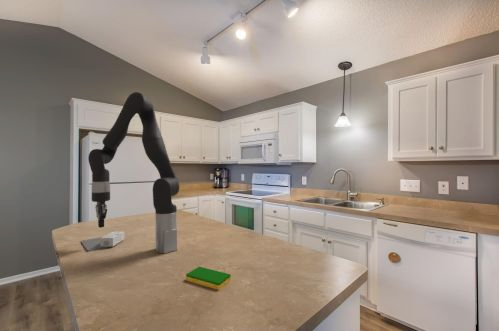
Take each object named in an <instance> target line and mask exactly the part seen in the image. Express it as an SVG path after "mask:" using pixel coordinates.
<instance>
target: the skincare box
mask: <svg viewBox="0 0 499 331" xmlns="http://www.w3.org/2000/svg"><path fill="white" fill-rule="evenodd" d="M101 237H102V238H100V247H107V248H111V247H110V246H112V247H115V246H114V245H116V244H117V245H118V244H119V243H121V242H122V241H124V240H125V231H117V230H115V231H113V230H112V232H109V233H108V234H105V235H104V236H101Z"/></svg>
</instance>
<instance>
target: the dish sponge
mask: <svg viewBox="0 0 499 331" xmlns="http://www.w3.org/2000/svg"><path fill="white" fill-rule="evenodd" d="M231 275H232V274H230V273H228V272H227V273H226V272H222V271H218V270H215V269H210V268H206V267H202V266H197V267H196V268H194V269H192V270H190V271H189V272H187V273H186V274H185V281H188V282H191V283H194V284H197V285H200V286H204V287H206V288H207V287H208V288H211V289H215V290H217V291H219V290H221V289H222V288H224V286H226V285H227V284H228V283H229V282H231V280H232V276H231Z"/></svg>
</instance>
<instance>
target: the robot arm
mask: <svg viewBox="0 0 499 331" xmlns="http://www.w3.org/2000/svg"><path fill="white" fill-rule="evenodd" d="M154 107H155V106H154V104H153V101H152V100H151V99H150V98H149V97H147V96H146V95H145V94H142V93H141V92H138V91H137V92H136V91H134V92H132V93H130V94H129V95H128V97H127V98H126V100H125V102H124V104H123V106H122V108H121V110H120V112H119V114H118V116H117V118H116V119H115V122H114V123H113V125H112V127H111V128H110V129H109V130H108V132H107V134H106V135H105V136H104V138H103V139H102V145H103V147H102V149H100V148H94V149H92V150H91V151H89V153H88V156H87V157H88V164H89V167H90V170H91V174H92V175H91V177H92V178H91V202H94V203H96V204H95V207H94V208H95V214H96V219H97V225H98V228H100V229H101V228H104V227H105V219H106V218H107V212H108V209H107V208H108V206H107V204H106V202H108V201H110V200H111V182H110V171H109V169H107V168H106V167H105V165H107V164H109V163H110V162H112V161H113V159H114V158H115V155H116V153H117V151H118V148H119V147H120V145H121V144H122V143H123V141H124V140H125V138H126V136H127V134H128V132H129V131H128V130H129V126H130V123H131V120H132V119H133V118H134V117H135V115H136V114H138V117H139V119H140V123H141V125H142V133H141V143H142V145H143V150H144V152H145V155H146V156H147V158H148V159H149V160H150V162H151V163H152V165H154V167H155V168H156V169H157V171H158V174H159V177H160V178H157V179H156V180H155V181H154V183H153V185H152V200H153V201H152V203H153V204H152V205H153V208H154V211H155V215H154V216H155V252H157V253H159V254H167V253H171V252H174V251H177V250H178V226H177V224H178V223H177V222H178V221H177V216H178V215H177V213H178V212H177V207H178V206H177V205H176V204H173V202H172V201H173V200H172V197H174V196H177V195H178V193H179V191H180V183H179V180H178V177H177V176H176V173H175V171H174V168H173V167H172V164H171V161H170V158H169V154H168V152H167V149H166V144H165V141H164V137H163V136H162V133H161V130H160V127H159V124H158V120H157V117H156V113H155V112H156V111H155V108H154Z"/></svg>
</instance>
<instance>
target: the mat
mask: <svg viewBox="0 0 499 331" xmlns="http://www.w3.org/2000/svg"><path fill="white" fill-rule="evenodd" d="M102 237H103V236H99V237H95V238H94V237H93V238H90V239H84V240H81V241H80V242H81V244H82V245H83V247H84V248H85V250H86V251H87V252H92V251H97V250H101V249H107V248H108V247H100V238H102ZM115 246H118V243H117V244H116V245H114V246H110V247H109V248H111V247H115Z"/></svg>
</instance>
